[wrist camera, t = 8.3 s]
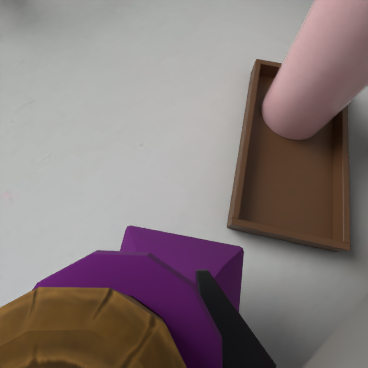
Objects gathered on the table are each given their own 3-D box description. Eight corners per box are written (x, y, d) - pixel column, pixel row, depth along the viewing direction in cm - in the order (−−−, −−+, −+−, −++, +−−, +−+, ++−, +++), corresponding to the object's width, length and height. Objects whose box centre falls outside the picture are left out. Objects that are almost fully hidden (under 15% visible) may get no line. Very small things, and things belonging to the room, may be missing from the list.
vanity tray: (335, 251, 21) (350, 250, 19) (226, 227, 22) (230, 224, 20) (335, 88, 27) (347, 75, 25) (251, 72, 28) (256, 58, 26)
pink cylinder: (323, 146, 24) (669, -135, 7) (257, 132, 24) (435, -164, 7) (324, 93, 26) (589, -216, 9) (264, 82, 27) (412, -235, 10)
